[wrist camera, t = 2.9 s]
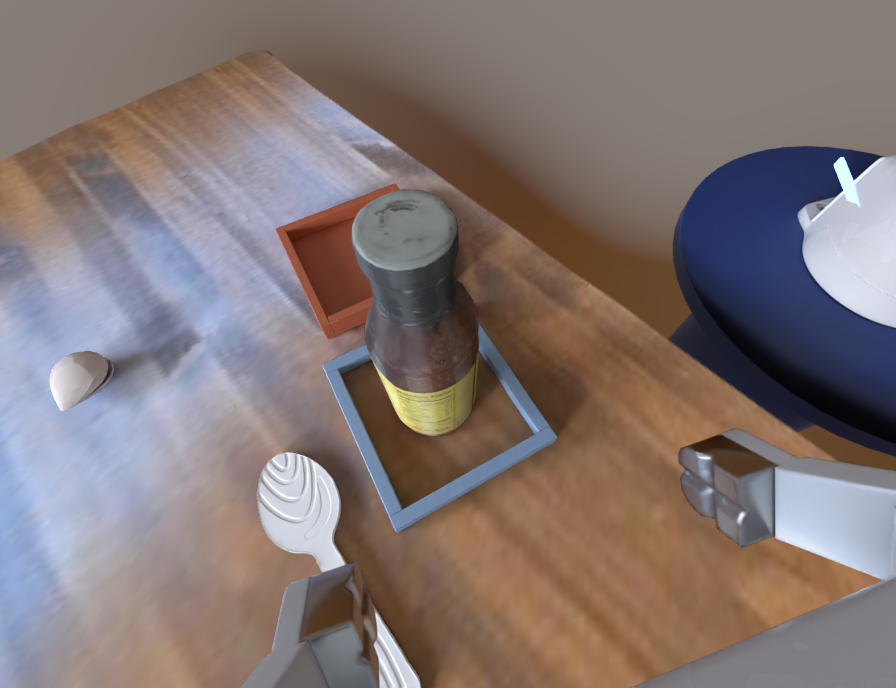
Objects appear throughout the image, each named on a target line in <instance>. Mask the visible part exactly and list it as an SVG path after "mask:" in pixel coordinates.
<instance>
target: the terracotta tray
mask: <svg viewBox="0 0 896 688" xmlns="http://www.w3.org/2000/svg"><path fill="white" fill-rule="evenodd" d="M398 190H399V188H398V187H397V185H396V184H392V185H390V186H387V187H384V188H382V189H379V190H377V191H374V192H371V193H369V194H366V195H363V196H361V197H358V198H356V199H353V200H350V201H348V202H345V203H342V204H340V205H337V206H335V207H332V208H329V209H327V210H324V211H321V212H319V213H316V214H314V215H311V216H308V217H306V218H303V219H300V220H298V221H295V222H293V223H290V224H287V225H285V226H282V227H279V228H276V232H277V234H278V236H279V238H280V240H281V242H282V244H283V247H284V249H285V251H286V253H287V255H288V257H289V260H290V262H291V264H292V266H293V268H294V270H295V272H296V275H297V277H298V279H299V281H300V283H301V285H302V288H303V290H304V292H305V294H306V296H307V298H308V300H309V303H310V305H311V307H312V309H313V311H314V313H315V316H316V318H317V320H318V322H319V324H320V326H321V328H322V330H323V332H324V334H325V336H326V337H327V339H330V338H332V337H334V336H336V335H338V334H341V333H343V332H345V331H347V330H350V329H352V328H354V327H356V326H358V325H361V324H363V323H365V322H366V320H367V316H368V313H369V310H370V306H371V303H372V300H373V296H372V287H371V285H370V281H369V278H368V277H367V276H366V275H365V274H364V273H363V271H362V269H361V268H360V267H359V265H358V262H357V259H356V255H355V251H354V248H353V245H352V236H351V235H352V225H353V222H354V219H355V217H356V216H357V214H358V212H359V211H360V210H361V209H362V208H363V207H365V205H366V204H367V203H369V202H371V201H373V200H375V199H377V198H378V197H380V196H382V195H385V194H387V193H390V192H394V191H398Z"/></svg>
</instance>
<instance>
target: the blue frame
mask: <svg viewBox="0 0 896 688" xmlns="http://www.w3.org/2000/svg"><path fill="white" fill-rule="evenodd" d="M478 325H479V328H478V335H479V351H480V353H481V354H482V356H483V357H484V359H485V360H486V362H487V363H488V365H489V366H490V368H491V369H492V371H493V372H494V374H495V375H496V377H497V378H498V380H499V381H500V383H501V384H502V386H503V387H504V389H505V390H506V392H507V393H508V395H509V396H510V398H511V399H512V401H513V402H514V404H515V406H516V407H517V409H518V410H519V412H520V413H521V415H522V416H523V418H524V419H525V421H526V422H527V424H528V425H529V427H530V428H531V430H532V431H533V433H534V435H533V436H531V437H529V438H527V439H526V440H524V441H522V442H520V443H519V444H517V445H515V446H513V447H512V448H510V449H508V450H506V451H505V452H503V453H501V454H499V455H497V456H496V457H494V458H492V459H490V460H489V461H487V462H485V463H483V464H482V465H480V466H478V467H476V468H475V469H473V470H471V471H469V472H468V473H466V474H464V475H462V476H461V477H459V478H457V479H455V480H454V481H452V482H450V483H448V484H446V485H445V486H443V487H441V488H439V489H438V490H436V491H434V492H432V493H431V494H429V495H427V496H425V497H424V498H422V499H420V500H418V501H417V502H415V503H413V504H411V505H410V506H408V507H406V508H404V509H403V507H402V505H401V503H400V501H399V499H398V496H397V494H396V492H395V490H394V488H393V486H392V483H391V481H390V479H389V477H388V475H387V473H386V470H385V468H384V466H383V464H382V462H381V460H380V458H379V455H378V453H377V451H376V449H375V447H374V445H373V442H372V440H371V438H370V436H369V434H368V432H367V429H366V427H365V425H364V423H363V421H362V419H361V416H360V414H359V412H358V410H357V408H356V406H355V403H354V401H353V399H352V397H351V395H350V393H349V390H348V388H347V386H346V384H345V382H344V380H343V377H342V375H341V374H343V373H345V372H347V371H350V370H352V369H354V368H356V367H358V366H360V365H362V364H364V363H366V362H368V361H371V360H372V359H371V357H370V355H369V352H368V349H367V345H366V344H365V345H363V346H361V347H359V348H356V349H354V350H352V351H350V352H348V353H346V354H344V355H341V356H339V357H337V358H335V359H333V360H331V361H328V362H326V363H324V364H322V366H323V368H324V371H325V373H326V375H327V378H328V380H329V382H330V384H331V387H332V389H333V391H334V393H335V396H336V398H337V400H338V402H339V405H340V407H341V409H342V411H343V414H344V416H345V418H346V420H347V423H348V425H349V427H350V430H351V432H352V434H353V436H354V439H355V441H356V443H357V445H358V448H359V450H360V452H361V454H362V457H363V459H364V461H365V463H366V466H367V468H368V470H369V472H370V475H371V477H372V479H373V481H374V484H375V486H376V488H377V491H378V493H379V495H380V497H381V500H382V502H383V504H384V506H385V509H386V511H387V513H388V515H389V517H390V520H391V522H392V524H393V527H394V529H395V531H397V532H400V531H402V530H403V529H405V528H407V527H409V526H410V525H412V524H414V523H415V522H417V521H419V520H421V519H422V518H424V517H426V516H427V515H429V514H431V513H433V512H434V511H436V510H438V509H440V508H441V507H443V506H445V505H446V504H448V503H450V502H452V501H453V500H455V499H457V498H458V497H460V496H462V495H464V494H465V493H467V492H469V491H471V490H472V489H474V488H476V487H477V486H479V485H481V484H483V483H484V482H486V481H488V480H490V479H491V478H493V477H495V476H496V475H498V474H500V473H502V472H503V471H505V470H507V469H508V468H510V467H512V466H514V465H515V464H517V463H519V462H521V461H522V460H524V459H526V458H527V457H529V456H531V455H533V454H534V453H536V452H538V451H539V450H541V449H543V448H545V447H546V446H548V445H550V444H552V443H553V442H554V441H555V440H556V439H557V436H556V434H555V433H554V431H553V430H552V429H551V427H550V426H549V424H548V423H547V421H546V420H545V419H544V417H543V416H542V414H541V413H540V411H539V410H538V408H537V407H536V405H535V404H534V403H533V401H532V400H531V398H530V397H529V395H528V394H527V392H526V391H525V389H524V388H523V387H522V385H521V384H520V382H519V381H518V379H517V378H516V376H515V375H514V373H513V372H512V371H511V369H510V368H509V366H508V365H507V363H506V362H505V360H504V359H503V357H502V356H501V355H500V353H499V352H498V350H497V349H496V347H495V346H494V344H493V343H492V341H491V340H490V339H489V337H488V336H487V334H486V333H485V331H484V330H483V328H482V327H481V325H480V324H479V323H478Z"/></svg>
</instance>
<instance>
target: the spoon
mask: <svg viewBox="0 0 896 688" xmlns="http://www.w3.org/2000/svg"><path fill="white" fill-rule="evenodd" d="M259 479H260V480H258V481H259V482H258V483H259V485H258V490H257V492H258V493H257V502H258V503H257V505H258V506H257V507H258V511H259V512H258V513H259V514H258V515H259V517H260V518H259V519H260V520H261V521H260V522H261V524H262V526H263V528H264V530H265V532H266V535H267V536H268V537H269V538H270V539H271V540H272V541H273V542H274V543H275V544H276V545H277V546H278V547H280V548H282V549H284V550H286V551H288V552H292V553H298V554H299V553H301V554H302V553H308V554H311V555H313V556H314V558H316V560H317V564H318V566H319V567H320V569H321V571H322V572H325V571H328V570H331V569H334V568H337V567H340V566H344V565H347V563H346V561H345V560H344V558H343V556H342V554H341V553H340V552H339V550H338V548H337V547H336V545H335V542H334V535H335V534H334V533H335V531H336V529H337V525H338V522H339V518H340V515H341V514H340V513H341V500H340V495H339V491H338V489H337V486H336V483H335V482H334V480H333V478H332V477H331V476H330V474H328V472H327V471H326V470H325V469H324V468H323V467H322V466H320V464H318V463H316V462H315V461H314V460H312V459H310V458H308V457H306V456H303V455H300V454H295V453H291V452H290V453H282V454H279V455H277V456H275V457H274V458H273V459H270V461H268V463H267V465H266V466H264V469H263V470H262V472H261V476H260V478H259ZM374 610H375V616H376V622H377V635H378V638H377V640H376V641H375V643H374V647H375V650H376V652H377V655H378V658H379V684H380V688H422V686H421V683H420V682H421V681H420V678H419V676H418V674H417V673H416V671H415V669H413V667H412V665H411V664H410V663H409V661H408V660H407V658H406V656H405V654H404V653H403V651H402V649H401V647H399V645H398V643H397V642H396V640H395V638H394V636H393V634H391V632H390V631H389V629H388V627H387V625H385V623H384V621H383V619H382V618H381V616H380V614H379V612H377V610H376V608H375V607H374Z"/></svg>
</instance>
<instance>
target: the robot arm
mask: <svg viewBox="0 0 896 688" xmlns="http://www.w3.org/2000/svg"><path fill="white" fill-rule="evenodd" d="M834 167H835V169H836V172H837V174H838V177H839V180H840V182H841V185H842V188H843V190H844V191H843V192H841V193H840V194H839V195H838V196H836V197H832V198H829V199H825V200H821V201H817V202H814V203H810V204H807V205H806V206H804V207H803V208H802V209H801V210H800V211H799V212H798V219H799V222H800V224H801V227H802V229H803V231H804V239H803V245H802V251H803V257H804V261H805V263H806V266H807V268H808V270H809V271H810V273H811V275H812V276H813V278H814V279H815V280H816V281H817V283H818V284H819V285H820V286H821V287H822V288H823V289H824V290H825V291H826V292H827V293H828V294H829V295H830V296H832V297H833V298H834V299H835V300H837V301H838V302H839V303H841V304H842V305H844V306H845V307H847V308H848V309H850V310H852V311H853V312H855V313H857V314H859V315H861V316H863V317H865V318H867V319H870V320H872V321H875V322H877V323H880V324H883V325H886V326H890V327H894V328H896V154H894V155H892V156H890V157H882V158H880V159H878V160H877V161H876V162H874V163H873V164H872V165H871V166H870V167H869V168H868V169H867V170H865V171H864V172H863V173H862V174H861V175H860V176H859V177H858V178H857V179H856V180H854V181H853V179H852V176H851V174H850V171H849V169H848V166H847V164H846V161H845V159H844V158H843V157H840V158H839V160H838V161H837V162H836V163H835V164H834ZM678 457H679V464H681V465H682V466H683V467H684V468H685V470H684V472H683V474H682V476H681V478H680V481H681V488H682V492H683V494H684V496H685V498H686V500H687V501H688V503H689V504H690V505H691V506H692V508H693V509H694V510H696V511H697V512H698V513H699V514H700V515H701V516H704V517H708V518H711V519H714V520H715V522H716V526H717V529H718V530H720V531H721V532H722V533H723V534H725V535H726V536H727V537H728V538H730V539H731V540H732V541H733V542H735V543H736V544H737V545H738V546H739V547H741V548H743V547H746V546H749V545H751V544H754V543H757V542H760V541H763V540H765V539H768V538H771V537H774V536H775V538H776V539H779V540H781V541H784V542H787V543H789V544H792V545H794V546H797V547H800V548H802V549H805V550H807V551H810V552H812V553H815V554H818V555H820V556H823V557H825V558H828V559H830V560H833V561H836V562H838V563H841V564H843V565H846V566H849V567H851V568H854V569H856V570H859V571H861V572H864V573H867V574H869V575H872V576H874V577H877V578H879V579H882V580H883V581H880V582H878V583H876V584H873V585H871V586H868V587H866V588H864V589H861V590H859V591H857V592H854V593H852V594H850V595H847V596H845V597H843V598H840V599H838V600H835V601H833V602H831V603H828V604H826V605H824V606H821V607H819V608H817V609H814V610H812V611H810V612H807V613H805V614H803V615H800V616H798V617H796V618H793V619H791V620H789V621H786V622H784V623H782V624H779V625H777V626H775V627H772V628H770V629H768V630H765V631H763V632H761V633H758V634H756V635H753V636H751V637H749V638H746V639H744V640H742V641H739V642H737V643H735V644H732V645H730V646H728V647H725V648H723V649H721V650H718V651H716V652H714V653H711V654H709V655H707V656H704V657H702V658H700V659H697V660H695V661H692V662H690V663H688V664H685V665H683V666H681V667H678V668H676V669H674V670H671V671H669V672H667V673H664V674H662V675H659V676H657V677H655V678H652V679H650V680H648V681H645V682H643V683H641V684H638V685H636V686H634V687H631V688H896V472H895V471H890V470H884V469H878V468H872V467H865V466H859V465H853V464H847V463H841V462H835V461H829V460H823V459H817V458H811V457H803V458H798V457H796V456H794V455H792V454H790V453H788V452H786V451H784V450H782V449H780V448H778V447H776V446H774V445H772V444H770V443H768V442H766V441H764V440H762V439H760V438H758V437H756V436H754V435H752V434H750V433H748V432H746V431H744V430H742V429H737V428H733V429H730V430H728V431H725V432H722V433H720V434H717V435H716V436H713V437H710V438H707V439H705V440H702V441H699V442H696V443H693V444H691V445H688V446H685V447H682V448H680V451H679V453H678ZM377 638H378V635H377V622H376V616H375V610H374V606H373V602H372V599H371V596H370V593H369V590H367V589H365V588H363V575H362V572H361V570H360V567H359V565H358V563H356V562H353V563H350V564H347V565H344V566H340V567H337V568H334V569H331V570H328V571H325V572H322V573H319V574H316V575H313V576H311V577H308V578H305V579H302V580H299V581H296V582H293V583H289V585H288V586H287V587H286V589H285V592H284V597H283V601H282V606H281V611H280V615H279V620H278V624H277V629H276V634H275V638H274V643H273V648H272V652H271V654H269V655H266V656H264V657H263V658H262V660H261V661H260V662H259V664H258V665H257V666H256V667H255V669H254V670H253V671H252V673H251V674H250V675H249V677H248V678H247V679H246V681H245V682H244V683H243V685H242V686H241V687H240V688H380V684H379V658H378V655H377V652H376V650H375V647H374V643H375V641H376V640H377Z"/></svg>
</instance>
